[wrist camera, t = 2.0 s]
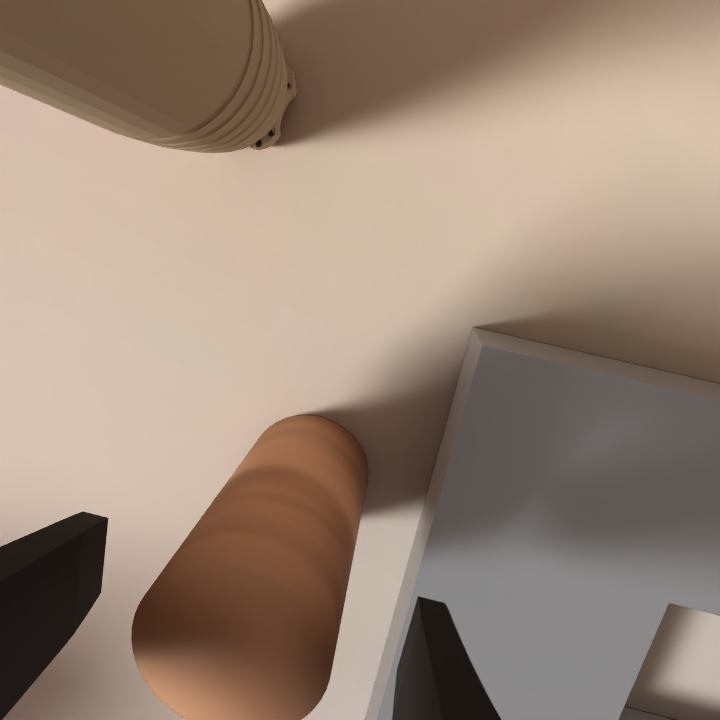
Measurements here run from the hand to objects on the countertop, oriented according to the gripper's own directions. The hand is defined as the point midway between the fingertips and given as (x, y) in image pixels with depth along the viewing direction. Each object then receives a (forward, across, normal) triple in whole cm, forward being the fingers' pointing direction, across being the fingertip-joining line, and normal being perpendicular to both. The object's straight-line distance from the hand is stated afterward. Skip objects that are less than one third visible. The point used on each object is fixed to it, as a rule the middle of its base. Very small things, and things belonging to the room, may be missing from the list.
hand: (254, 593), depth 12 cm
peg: (+6, 0, 0) cm, 6 cm away
